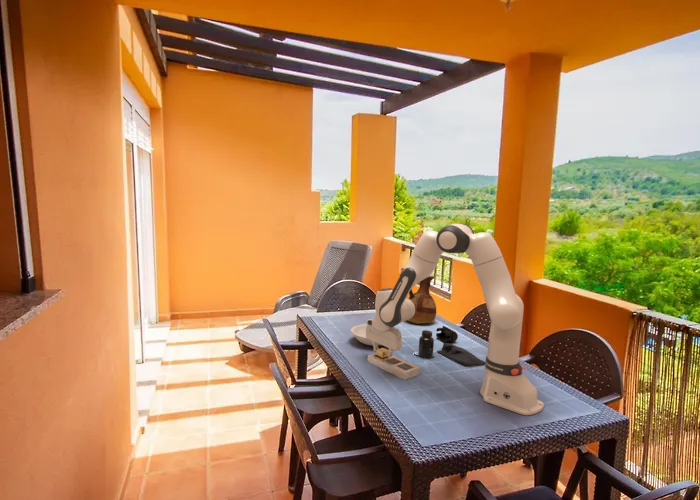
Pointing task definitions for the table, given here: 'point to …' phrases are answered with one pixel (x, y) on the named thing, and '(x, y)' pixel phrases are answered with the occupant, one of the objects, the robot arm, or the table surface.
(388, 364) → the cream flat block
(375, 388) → the table surface
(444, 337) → the end cap
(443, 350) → the dark slate chunk
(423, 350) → the supplement bottle
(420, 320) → the ceramic pitcher
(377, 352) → the golden yellow block
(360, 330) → the soup bowl
